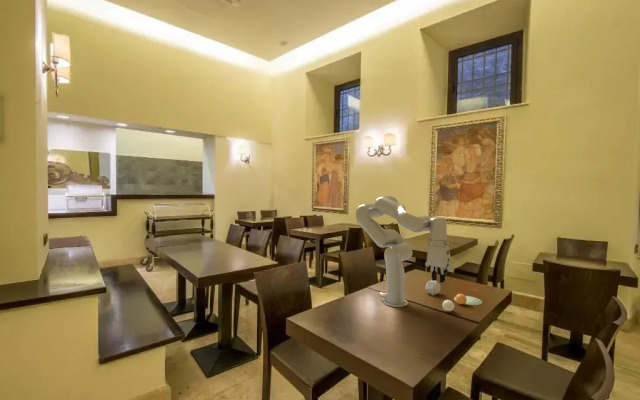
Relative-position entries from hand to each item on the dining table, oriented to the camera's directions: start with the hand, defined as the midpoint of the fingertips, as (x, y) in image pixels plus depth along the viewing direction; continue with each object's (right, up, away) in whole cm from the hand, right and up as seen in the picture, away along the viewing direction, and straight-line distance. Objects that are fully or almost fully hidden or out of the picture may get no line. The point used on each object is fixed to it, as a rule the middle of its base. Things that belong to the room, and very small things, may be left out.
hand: (438, 280), depth 145 cm
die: (+9, -17, +32) cm, 37 cm away
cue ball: (+8, -14, +6) cm, 17 cm away
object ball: (+18, -14, +15) cm, 28 cm away
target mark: (+24, -16, +21) cm, 36 cm away
